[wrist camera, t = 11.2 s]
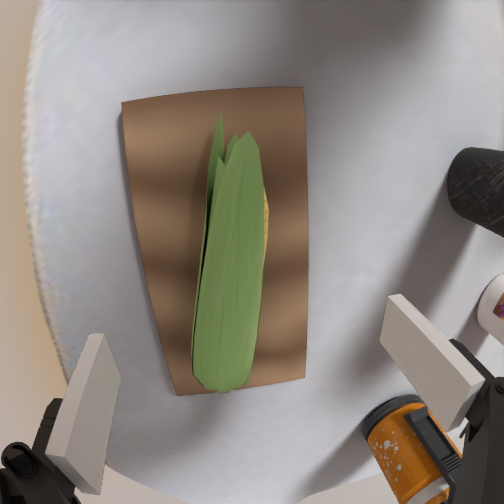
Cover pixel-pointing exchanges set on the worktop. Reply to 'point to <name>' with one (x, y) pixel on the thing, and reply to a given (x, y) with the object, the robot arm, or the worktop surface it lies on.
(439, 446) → the canister
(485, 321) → the milk bottle
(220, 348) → the edible corn
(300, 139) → the serving board
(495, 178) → the travel mug
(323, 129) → the worktop surface
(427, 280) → the worktop surface
